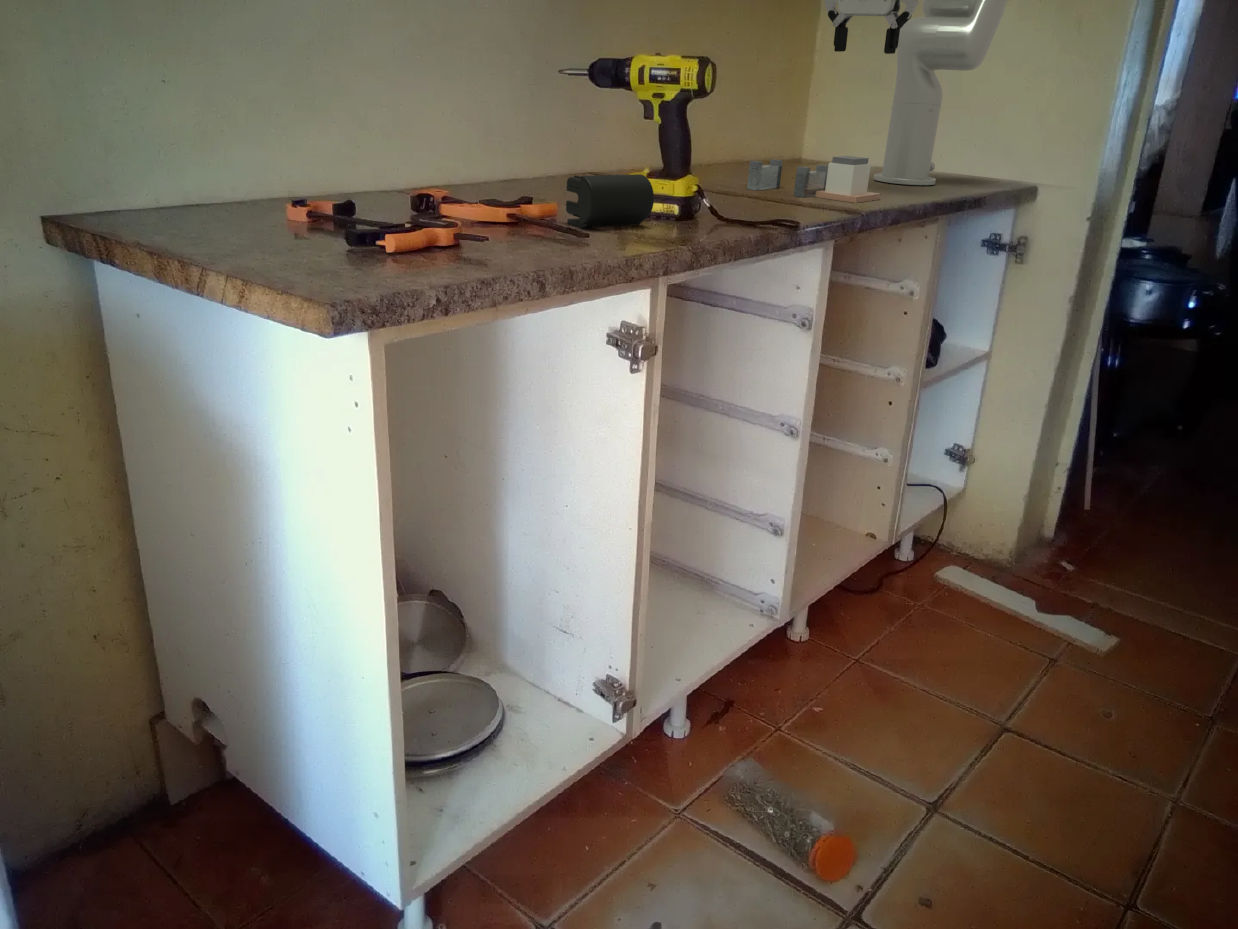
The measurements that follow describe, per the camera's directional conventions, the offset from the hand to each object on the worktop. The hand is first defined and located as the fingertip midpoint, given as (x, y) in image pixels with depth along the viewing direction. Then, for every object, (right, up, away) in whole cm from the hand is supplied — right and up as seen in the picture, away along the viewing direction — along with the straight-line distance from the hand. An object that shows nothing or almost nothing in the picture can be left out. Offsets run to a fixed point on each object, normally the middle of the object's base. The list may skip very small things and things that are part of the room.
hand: (864, 52), depth 169 cm
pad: (-3, -26, +1) cm, 26 cm away
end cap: (-45, -41, -40) cm, 74 cm away
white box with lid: (-3, -25, 0) cm, 25 cm away
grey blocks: (-13, -23, +5) cm, 27 cm away
